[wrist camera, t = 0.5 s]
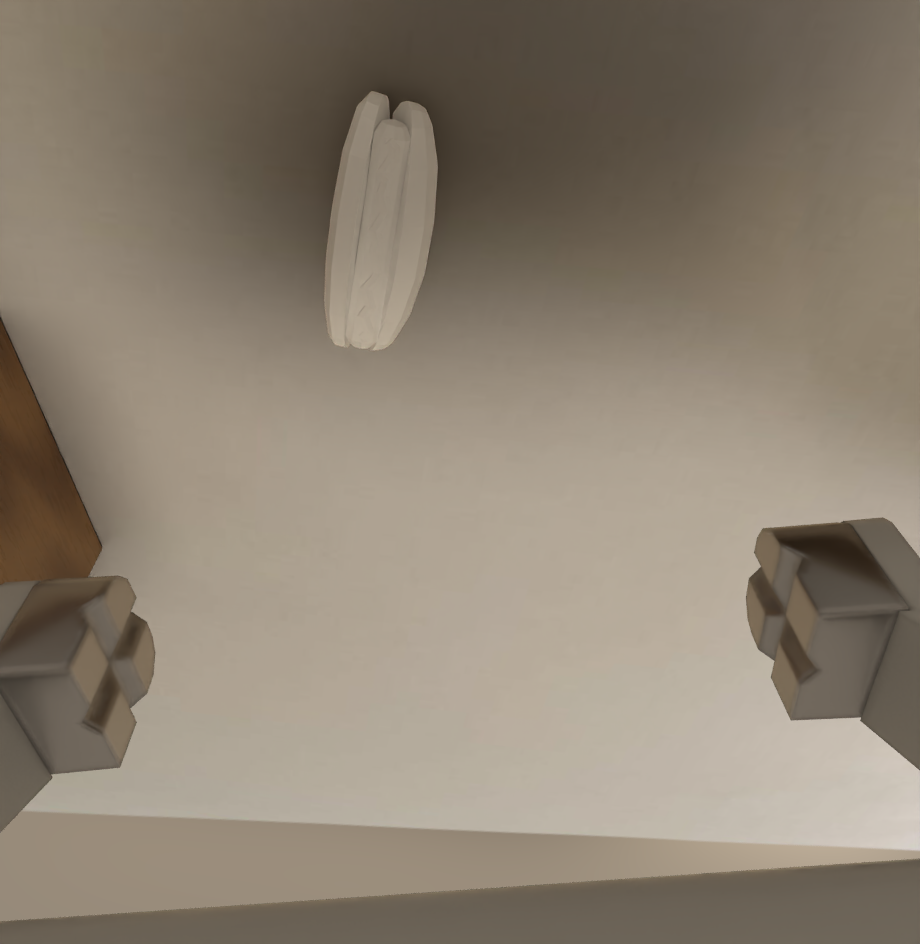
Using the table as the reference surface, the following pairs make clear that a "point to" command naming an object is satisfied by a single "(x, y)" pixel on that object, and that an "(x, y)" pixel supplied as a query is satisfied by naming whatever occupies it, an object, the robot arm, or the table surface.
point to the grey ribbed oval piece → (380, 223)
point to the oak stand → (36, 490)
